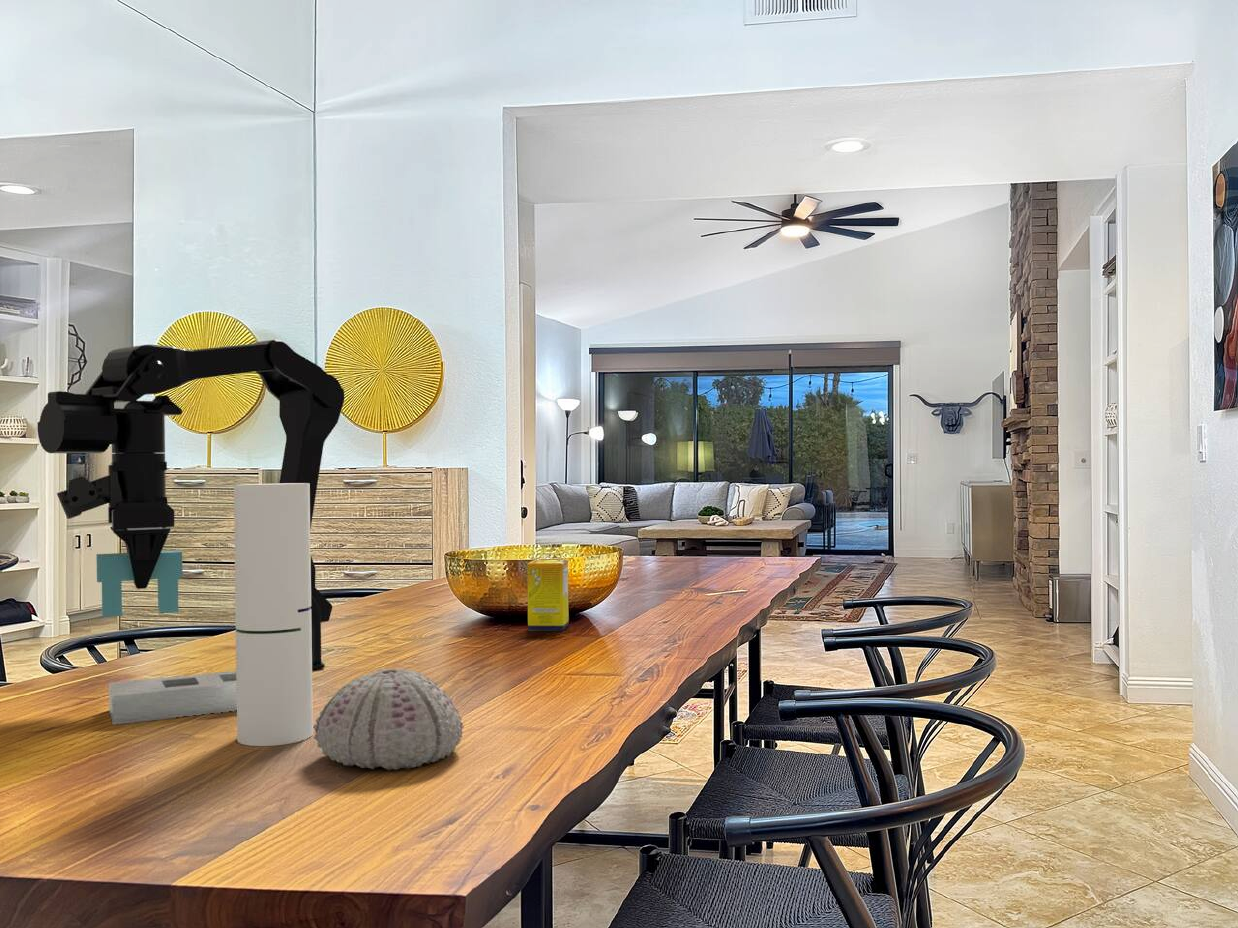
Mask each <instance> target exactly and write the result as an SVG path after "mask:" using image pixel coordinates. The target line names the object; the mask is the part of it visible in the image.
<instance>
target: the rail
mask: <svg viewBox="0 0 1238 928" xmlns="http://www.w3.org/2000/svg"><path fill="white" fill-rule="evenodd" d="M108 686H109V687H108V689H109V691H108V693H109V696H108V697H109V698H108V699H109V700H108V701H109V702H108V703H109V704H108V705H109V706H108V707H109V708H108V709H109V713H110V719H111V723H112V726H113V725H115V726H117V725H123V724H133V723H134V724H135V723H140V722H141V723H142V722H150V721H151V722H152V721H160V720H168V719H169V720H170V719H177V718H176V717H179V718H184V717H183V716H188V717H194V716H193V715H196V716H203V715H202V714H205V715H211V714H210V713H214V714H221V712H223V713H229V711H232V712H237V711H236V710H237V685H236V670H231V671H228V670H227V671H219V672H211V673H198V674H189V675H178V676H176V675H175V676H168V677H157V678H148V679H136V680H135V679H134V680H126V681H116V682H114V681H113V682H109V683H108Z"/></svg>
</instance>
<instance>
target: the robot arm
mask: <svg viewBox="0 0 1238 928" xmlns="http://www.w3.org/2000/svg"><path fill="white" fill-rule="evenodd" d="M101 370H102V371H101V373H99V375H98V376H97V377H96V379H95V381H93V383H92V384H91V385H90V386H89V388H88V389H87V391H86V392H85V393H84V394H83V393H73V392H69V391H62V390H61V391H59V390H57V391H49V392H48V393H47V403H46V404H45V405H44V407H43V409H42V411H41V413H40V418H39V421H38V422H37V427H36V429H37V436H38V441H39V443H40V446H41V448H42V449H43V450H44V451H45V452H46V453H48V454H102V453H104V452H106V451H107V450H108V449H109V447H110V445H111V463H110V464H109V465H108V470H107V471H108V475H106V476H105V475H104V476H102V477H99V478H96V479H93V480H91V481H90V480H88V479H87V478H86V477H84V476H83V475H81V476H78V477H75V478H71V479H69V480H68V487H67V489H64V490H61V491H59V492H57V493H56V495H57V498H58V500H59V502H60V505H61V507H62V509H63V512H64V514H65V517H66V518H67V520H69V519H73V518H75V517H78V516H79V517H80V516H81V515H82V513H84V512H87V511H89V510H93V509H95V508H98V507H101V506H104V505H108V507H107V523H108V524H111V526H109V528H110V530H111V531H112V532H113V534H114V535H115V536H117V537H118V538H119V539H120V540H122V541H123V543H124V545H125V550H126V553H129V557H130V562H131V567H132V571H133V576H134V580H133V584H134V586H135V588H136V590H142V589H143V590H144V589H147V587H148V585H149V583H150V580H151V579H150V578H151V576H152V573H153V571H154V568H155V566H156V563H157V561H158V558H159V556H160V553H161V551H163V548H164V547H165V543H166V541H167V539H168V537H169V534H170V532H171V528H172V527H175V509H173V508H172V507H171V506H170V505H169V504H168V496H166V495H167V493H166V491H167V489H166V487H167V486H166V480H167V479H166V471H167V470H168V465H167V464H168V462H167V461H166V429H165V427H166V426H165V425H166V423H165V422H166V421H165V420H166V419H165V417H166V416H169V417H170V416H180V415H182V413H183V409H182V408H181V407H179V405H177V404H176V403H174V402H173V401H172V399H171V398H170V396H169V395H167V394H165V395H164V394H163V395H156V394H160V393H163V392H166V391H169V390H173V389H176V388H179V387H181V386H184V385H185V384H188V383H189V382H192V381H195V380H199V379H207V378H213V377H214V378H215V377H223V376H230V375H238V374H246V373H247V374H248V373H256V374H257V375H258V376H259V377H260V379H261V381H262V383H263V385H264V387H265V388H266V390H267V391H268V392H269V394H271V395H272V396H273V397H274V398H275V399H277V401H279V411H278V412H279V414H278V415H279V416H278V417H279V420H280V422H281V425H282V427H283V428H282V429H283V431H284V433H285V445H284V453H283V458H282V463H281V469H280V477H279V483H278V484H282V483H310V531H312V530H311V529H312V523H313V516H314V509H315V504H316V497H317V490H318V484H319V483H318V482H319V478H320V471H321V464H322V459H323V451H324V445H325V442H326V440H327V438H328V437H329V436H330V435H331V433H332V431H333V430H334V428H335V427H336V425H337V424H338V422H339V419H340V416H341V413H342V409H343V407H344V403H345V390H344V388H343V387H342V385H341V384H340V382H339V380H338V379H337V378H336V377H335V376H333V375H331V374H330V373H327V372H326V371H325V370H324V369H323V368H322V367H321V366H319V365H318V364H316V363H314V362H312V361H311V360H309V359H307V358H306V357H304V356H302V355H300V354H299V353H297V352H296V351H294V349H292V348H291V346H289V345H288V344H287V343H285V342H284V341H282V340H280V339H270V340H261V341H255V342H253V343H248V344H238V345H229V346H219V347H210V348H207V347H206V348H200V349H187V348H180V347H177V346H169V345H168V346H167V345H158V344H142V345H141V344H140V345H135V346H134V345H133V346H128V347H119V348H116V349H113V350H111V351H109V352H108V353H107V356H106V357H105V358H104V360H103V362H102V366H101ZM146 395H147V396H149V395H156V396H155V397H154V398H153V399H152V400H139V399H141V398H142V397H144V396H146ZM124 402H125V403H126V404H125V405H124V407H123V408H117V407H115V404H116V403H117V404H118V403H124ZM316 570H317V569H316V566H315V563H314V560H313V557H312V556H311V607H310V608H311V626H312V670H317V669H323V668H326V666H325V665H326V664H325V663H324V662H322V623H326V622H329V621H330V618H331V615H332V611H333V605H332V604H331V602H330V601H329V600H328V599H327V598H326V597H325V596H324V594H322V593H321V592H320V590H319V589H317V587H316V573H317V572H316Z"/></svg>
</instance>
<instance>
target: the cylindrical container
mask: <svg viewBox="0 0 1238 928" xmlns="http://www.w3.org/2000/svg"><path fill="white" fill-rule="evenodd" d="M233 509H234V510H233V517H234V518H233V521H234V522H233V523H234V524H233V525H234V527H233V528H234V530H233V531H234V532H233V533H234V534H233V535H234V593H235V594H234V596H235V597H234V599H235V601H234V605H235V607H234V609H235V610H234V611H235V629H236V630H235V669H236V670H235V671H236V685H237V711H236V736H237V737H236V739H237V743H238V744H241V745H245V746H251V747H272V746H273V747H275V746H283V745H289V744H290V745H291V744H295V743H298V742H299V743H300V742H302V740H303V741H305V740H307V738H308V739H310V738H311V737H312V736H313V735H314V728H313V727H314V721H313V720H314V718H313V717H314V715H313V714H314V712H313V710H314V708H313V706H314V705H313V704H314V703H313V669H312V626H311V608H310V607H311V557H312V554H311V530H310V483H282V484H279V483H243V484H242V483H241V484H233ZM309 737H310V738H309Z"/></svg>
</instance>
